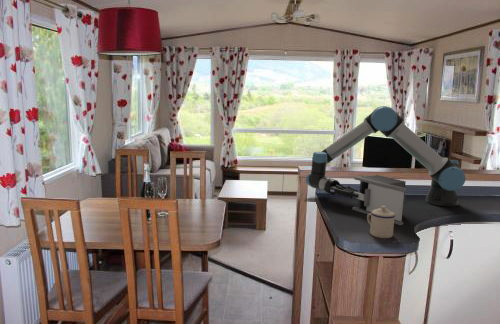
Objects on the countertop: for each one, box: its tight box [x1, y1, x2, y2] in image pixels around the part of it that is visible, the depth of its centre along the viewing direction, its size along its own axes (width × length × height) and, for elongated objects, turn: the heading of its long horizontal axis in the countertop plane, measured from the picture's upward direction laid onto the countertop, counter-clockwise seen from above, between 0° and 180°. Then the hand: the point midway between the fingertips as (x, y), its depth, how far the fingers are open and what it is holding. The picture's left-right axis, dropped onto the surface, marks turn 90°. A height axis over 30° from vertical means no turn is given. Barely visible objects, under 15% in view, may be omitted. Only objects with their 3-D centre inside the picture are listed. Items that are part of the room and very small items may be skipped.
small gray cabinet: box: [351, 174, 407, 226], centre depth 183 cm, size 14×27×16 cm, turn 33°
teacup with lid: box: [366, 206, 395, 239], centre depth 158 cm, size 12×9×12 cm
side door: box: [364, 183, 404, 222], centre depth 176 cm, size 3×18×13 cm, turn 33°
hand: (364, 197), depth 183 cm, fingers closed
